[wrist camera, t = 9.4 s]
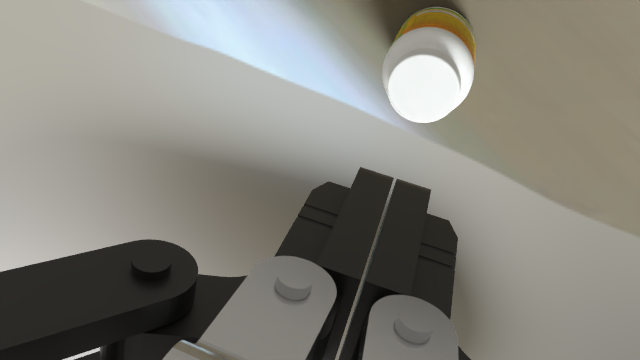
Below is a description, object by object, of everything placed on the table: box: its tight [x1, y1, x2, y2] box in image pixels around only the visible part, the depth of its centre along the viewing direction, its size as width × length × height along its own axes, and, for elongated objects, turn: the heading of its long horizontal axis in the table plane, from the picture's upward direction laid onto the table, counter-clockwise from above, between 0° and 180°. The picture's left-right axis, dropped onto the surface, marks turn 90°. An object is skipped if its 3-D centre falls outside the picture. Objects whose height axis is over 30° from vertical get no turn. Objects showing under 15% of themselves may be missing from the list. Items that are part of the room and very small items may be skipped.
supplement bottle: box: [382, 7, 475, 123], centre depth 36 cm, size 5×5×10 cm
